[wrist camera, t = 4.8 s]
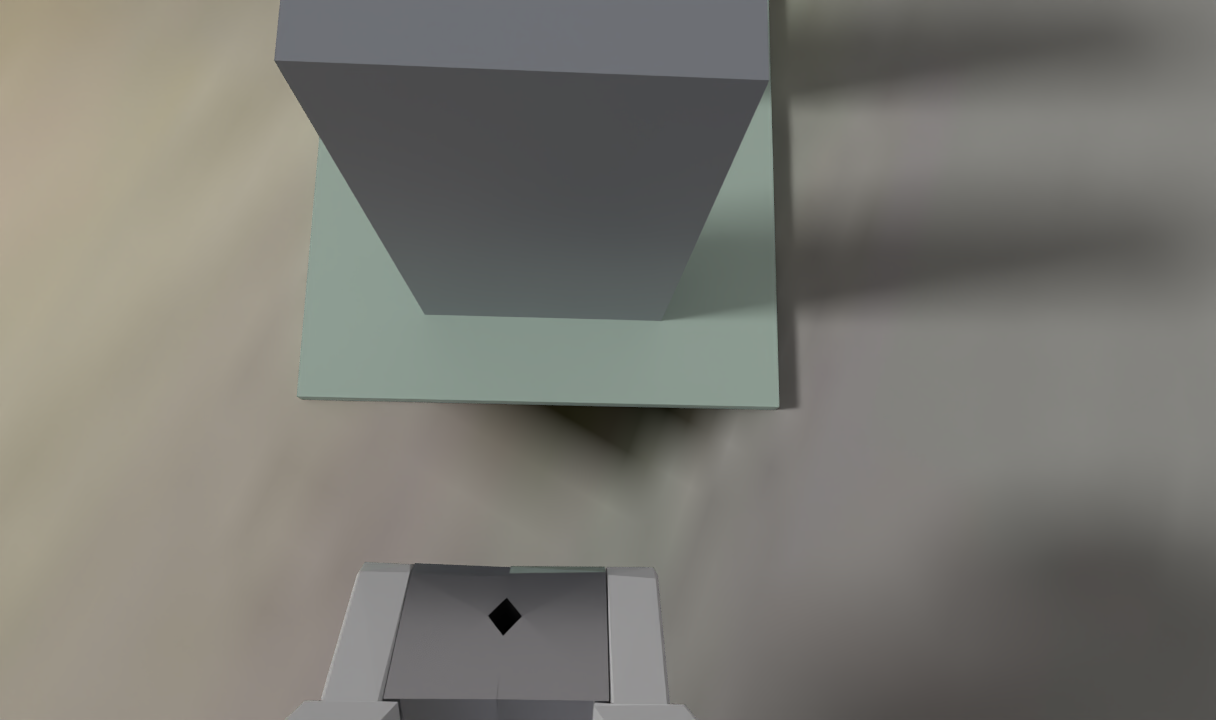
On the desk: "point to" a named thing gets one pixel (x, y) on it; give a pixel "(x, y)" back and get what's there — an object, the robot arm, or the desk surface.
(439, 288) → the domino
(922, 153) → the desk surface
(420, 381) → the mat
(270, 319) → the desk surface
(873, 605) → the desk surface
